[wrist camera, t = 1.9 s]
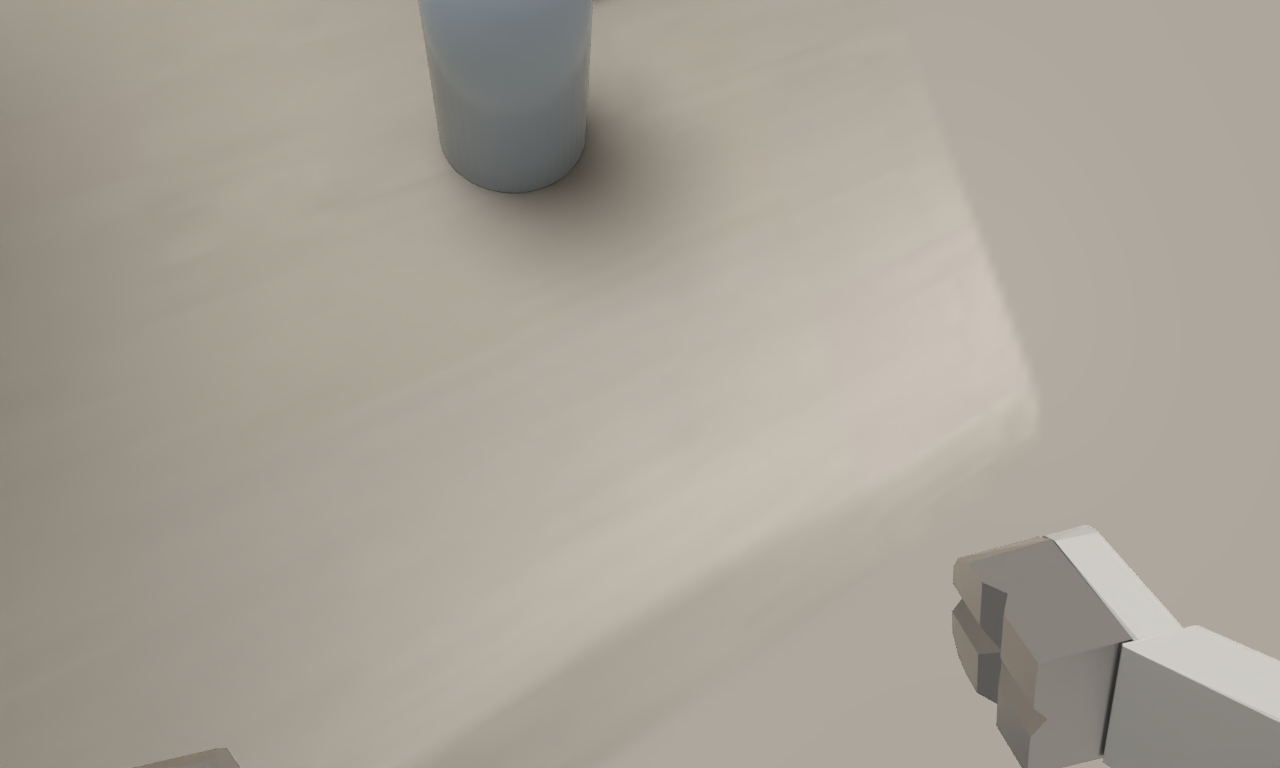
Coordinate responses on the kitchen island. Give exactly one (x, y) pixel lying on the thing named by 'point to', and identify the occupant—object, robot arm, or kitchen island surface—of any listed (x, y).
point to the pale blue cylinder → (509, 87)
